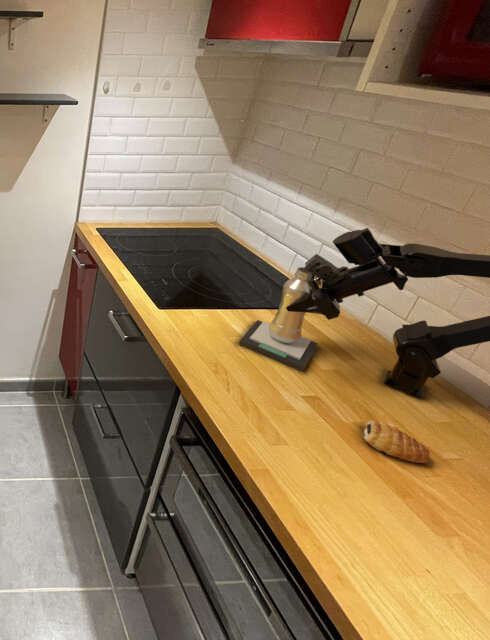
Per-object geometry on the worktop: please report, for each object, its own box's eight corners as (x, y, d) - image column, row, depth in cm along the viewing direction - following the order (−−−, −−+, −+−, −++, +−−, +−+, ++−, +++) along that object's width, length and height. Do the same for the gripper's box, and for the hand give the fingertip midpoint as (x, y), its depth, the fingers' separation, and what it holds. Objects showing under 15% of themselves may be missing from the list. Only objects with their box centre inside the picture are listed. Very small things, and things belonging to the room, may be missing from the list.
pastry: (423, 449, 87) (432, 435, 85) (428, 473, 82) (438, 458, 81) (361, 425, 92) (368, 411, 91) (363, 446, 87) (370, 432, 86)
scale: (256, 323, 125) (258, 317, 124) (316, 347, 116) (319, 341, 115) (238, 344, 116) (240, 338, 115) (302, 371, 107) (305, 365, 106)
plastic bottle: (297, 349, 111) (325, 279, 103) (266, 340, 115) (290, 272, 107) (297, 336, 116) (323, 269, 108) (266, 328, 120) (289, 262, 112)
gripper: (337, 236, 109) (270, 264, 120) (339, 264, 96) (264, 292, 106) (366, 274, 108) (296, 298, 119) (373, 307, 94) (293, 331, 105)
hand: (287, 303), depth 112 cm, fingers closed on plastic bottle, 6 cm apart
